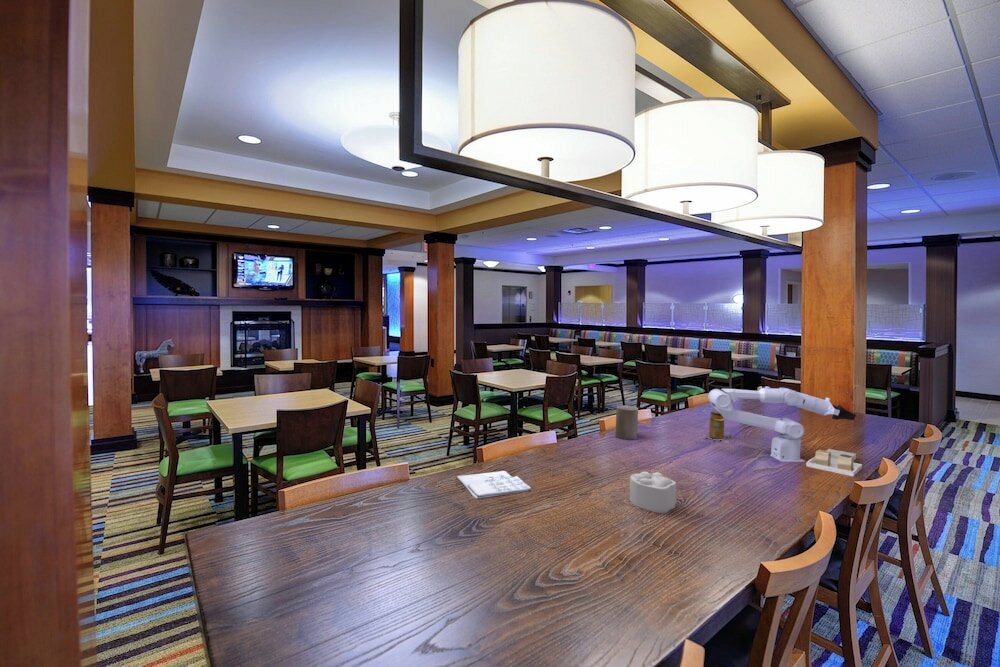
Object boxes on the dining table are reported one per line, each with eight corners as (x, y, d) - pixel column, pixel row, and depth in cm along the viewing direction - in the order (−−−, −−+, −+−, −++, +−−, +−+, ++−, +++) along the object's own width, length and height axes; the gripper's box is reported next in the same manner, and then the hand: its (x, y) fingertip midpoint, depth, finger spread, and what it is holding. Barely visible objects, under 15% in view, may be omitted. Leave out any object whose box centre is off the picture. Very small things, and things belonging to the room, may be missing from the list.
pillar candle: (617, 439, 212) (619, 406, 212) (613, 433, 222) (614, 402, 221) (639, 440, 212) (641, 407, 211) (634, 434, 222) (635, 402, 221)
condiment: (727, 438, 216) (728, 412, 216) (719, 442, 210) (720, 415, 210) (710, 435, 221) (711, 409, 221) (703, 438, 216) (704, 412, 215)
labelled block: (850, 472, 170) (851, 458, 170) (837, 469, 173) (838, 455, 173) (853, 469, 173) (854, 456, 173) (840, 467, 176) (840, 453, 176)
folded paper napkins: (475, 501, 145) (475, 494, 145) (456, 479, 163) (456, 473, 163) (531, 492, 152) (531, 486, 152) (507, 472, 171) (507, 466, 170)
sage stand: (850, 465, 180) (850, 458, 180) (822, 459, 187) (822, 453, 186) (855, 460, 186) (856, 453, 186) (828, 454, 193) (828, 448, 192)
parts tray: (861, 469, 175) (862, 464, 175) (853, 477, 166) (853, 472, 166) (816, 460, 185) (816, 455, 185) (806, 467, 177) (806, 462, 177)
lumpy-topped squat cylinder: (662, 515, 135) (662, 485, 134) (622, 501, 144) (622, 473, 144) (679, 505, 142) (680, 476, 141) (640, 492, 151) (640, 466, 151)
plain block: (827, 467, 175) (828, 454, 175) (815, 464, 178) (815, 451, 178) (830, 465, 178) (831, 452, 178) (818, 462, 181) (818, 449, 181)
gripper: (825, 397, 176) (863, 409, 174) (806, 390, 191) (842, 401, 189) (818, 415, 177) (856, 427, 175) (800, 407, 191) (835, 418, 189)
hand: (848, 415), depth 182 cm, fingers open, 7 cm apart
